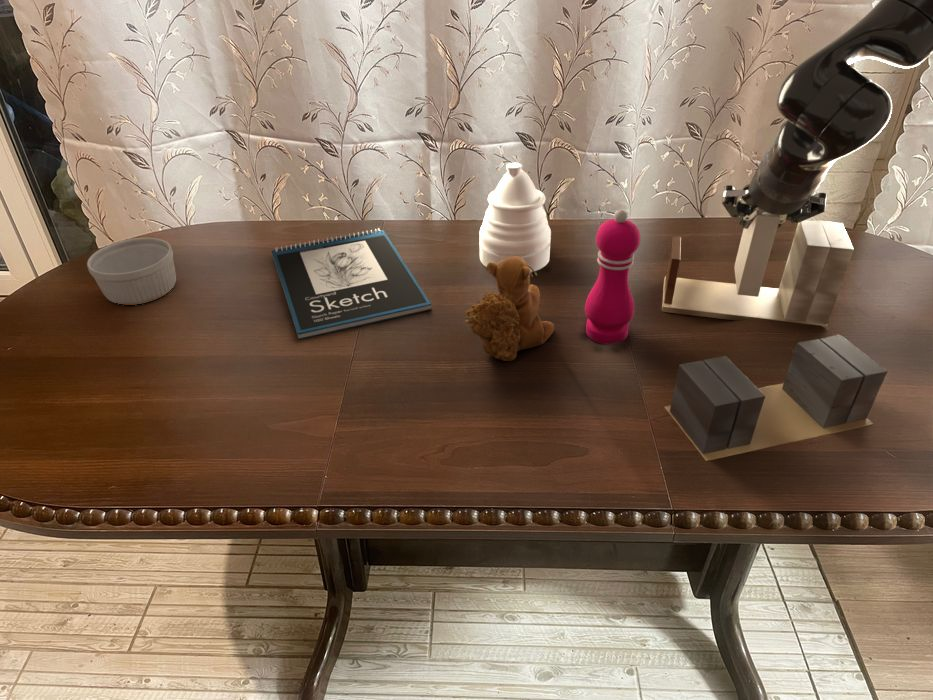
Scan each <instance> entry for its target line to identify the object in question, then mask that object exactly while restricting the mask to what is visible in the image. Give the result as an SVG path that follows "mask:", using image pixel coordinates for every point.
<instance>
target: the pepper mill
mask: <svg viewBox="0 0 933 700" xmlns="http://www.w3.org/2000/svg"><path fill="white" fill-rule="evenodd" d="M640 243H641V232H640V229H639V227H638V226H637V225H636V224H635V223H634V222H633V221H631V220H629V219H628V212H627V211H625V210H624V209H618V210H617V211H615V212H614V215H613V218H611V219H608V220H606V221H604V222H602V224H601V225H600V226H599V228H598V229H597V232H596V236H595V244H596V247H597V248H598V250H599V251H597V256H598V257H597V263H598V265H599V272H598V276H597V279H596V281H595V283H594V285H593V287H592V288H591V290H590V292H588V295H587V298H586V300H585V303H584V304H585V305H584V313H585V315H586V317H587V320H586V325H585V334H586V336H587V337H588V338H589V339H590V340H592V341H593V342H595V343H598V344H602V345H609V344H614V343H619V342H624V341H625V340H626V339H627V337H628V334H629V329H630V328H629V327H630V325H629V323H630V322H631V320H632V319H633V318H634V315H635V300H634V296H633V294H632V291H631V288H630V285H629V273H630V268H632V267H633V265H634V259H635V254H634V253H635V252H636V251H637V250H638V249H639V247H640Z"/></svg>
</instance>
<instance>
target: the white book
mask: <svg viewBox="0 0 933 700" xmlns="http://www.w3.org/2000/svg"><path fill="white" fill-rule="evenodd" d="M779 220H780V217H777V215H774V214H770V213H767V212H765V213H764V212H763V213H762V214H761V215H757V217H756V218H755V217H754V218H753V219H752V222H751V223H750V225H749V227H748V228H747V229H746V228H742V232H741V233H742V234H741V237H740V242H739V246H738V250H737V253H736V258H735V261H734V265H733V267H734V269H733V270H734V277H735V284H736V287H737V294H738V295H746V296H755V297H758V296H759V292H760V288H761V287H762V284H763V281H764V277H765V274H766V270H767V266H768V264H769V263H768V262H769V259H770V255H771V252H772V248H773V246H774V243H775V242H774V241H775V238H776V235H777V230H778V228H777V227H778V224H779Z"/></svg>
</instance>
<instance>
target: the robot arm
mask: <svg viewBox="0 0 933 700" xmlns="http://www.w3.org/2000/svg"><path fill="white" fill-rule="evenodd" d="M932 53H933V0H880V1H879V2H878V3H877V4H876V5H875V6H874V7H873V8H872V9H871V10H870V11H868V13H867V14H866V15H864V17H862V18H861V19H860V20H859V21H857V22H856V24H854V25H853V26H851V27H850V28H849V29H848V30H846V31H845V32H844V33H842V34H841V35H840V36H838V37H837V38H836V39H834V40H832V42H830V43H828V44H827V45H825V46H824V47H822V48H821V49H819V50H818V51H816V52H815V53H814V54H812V55H810V56H808V58H806V59H805V60H803V61H802V62H801V63H800V64H798V65H797V66H796V67H794V69H792V70H791V71H790V73H789V74H787V76H786V77H785V78H784V80H783V81H782V83H781V84H780V86H779V89H778V92H777V96H776V102H775V104H776V108H777V109H776V110H777V111H778V112H779V114H780V115H781V116H782V117H784V119H786V120H785V122H784V123H783V124H782V126H781V127H780V128H779V130H778V132H777V134H776V136H775V138H774V140H773V142H772V144H771V145H770V147H769V148H768V149H767V150H766V152H765V153H764V155H763V156H762V159H761V160H760V162H759V164H758V166H757V169H756V170H755V172H754V174H753V176H752V178H751V179H750V182H749V183H748V184H746V185H744V187H743V188H742V189H738V188H735V187H734V186H733V185H724V187H723V193H722V201H721V204H722V205H723V207H724V209H725V210H726V211H727V213H728V214H729V216H730V217H731V218H734V219H739V223H738V224H739V226H742V229H744V228H746V229H747V228H748V227H749V225H750V223H751V222H752V219H753V218H754V217H755V218H756V217H757V215H761V214H762V213H763V212H764V213H765V212H767V213H770V214H774V215H777V217H780V220H779V224H778V227H777V229H779V228H781V226H782V225H783V224H785V223H786V221H790V223H792V224H798V223H799V222H802V221H804V220H810V219H811V218H813V217H816V216H818V215H821V214H823V213H825V211H826V202H827V193H825V192H818V193H816V194H814V193H815V191H817V189H818V188H819V187H820V186H821V185H822V184H823V182H824V180H825V177H826V175H827V172H828V171H829V169H830V168H831V167H832V166H833V164H834V163H835V162H836V161H837V160H839V159H841V158H843V157H846V156H848V155H850V154H852V153H854V152H856V151H857V150H859V149H861V148H862V147H864V146H866V145H867V144H869V142H871V141H872V140H874V139H875V138H876V137H877V136H878V135H879V134H880V133H881V132H882V130H883V129H884V128H885V127H886V125H887V124H888V122H889V120H890V118H891V114H892V111H893V110H892V109H893V103H892V99H891V96H890V94H889V93H888V92H887V90H885V89H884V88H883V87H882V86H880V85H879V84H878V83H877V82H875V81H874V80H872V79H871V78H869V77H868V76H867V75H865V74H863V73H862V72H861V71H859V70H858V69H857V68H855V67H853V66H852V65H851V64H853V63H855V62H857V61H861V60H865V59H871V60H877V61H880V62H883V63H886V64H888V65H891V66H894V67H898V68H902V69H910V68H914V67H917V66H919V65H921V63H923V62H924V61H925V60H926V59H927V58H929V56H930V55H932ZM813 194H814V195H813ZM744 202H745V203H744Z"/></svg>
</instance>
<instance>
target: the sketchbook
mask: <svg viewBox="0 0 933 700" xmlns="http://www.w3.org/2000/svg"><path fill="white" fill-rule="evenodd" d="M303 243H304V244H302V242H299V245H297V243H294V246H293V244H289V245H290V246H289V247H288V245H287V244H286V245H285V247H283V245H281V246H280V248H279V247H278V246H274V249H273V250H272V249H271V255H272V258H273V261H274V265H275V268H276V272H277V274H278V278H279V281H280V284H281V286H282V290H283V293H284V296H285V300H286V303H287V306H288V309H289V313H290V316H291V319H292V322H293V325H294V329H295V331H296V335H297V338H298V340H302V339H306V338H313V337H316V336H320V335H324V334H330V333H333V332H339V331H343V330H347V329H352V328H357V327H361V326H366V325H369V324H374V323H378V322H379V323H380V322H383V321H386V320H387V321H388V320H391V319H396V318H400V317H404V316H405V317H406V316H410V315H413V314H419V313H423V312H428V311H432V309H433V308H432V303H431V301H430V299H429V298H428V297H427V295H426V293H425V292H424V290H423V289H422V287H421V286H420V284H419V282H418V281H417V280H416V278H415V277H414V275H413V273H412V272H411V270H410V269H409V267H408V265H407V264H406V262H405V261H404V260H403V258H402V257H401V255H400V253H399V252H398V250H397V249H396V247H395V246H394V244H393V243H392V241H391V239H390V238H389V236H388V235H387V233H386V231H385V230H384V229H380V227H378V228H377V229H376V228H374V231H373V230H372V229H370V232H369V231H368V230H366V232H364V231H362V230H361V233H360V232H359V231H357V234H355V232H353V235H351V233H348V236H347V235H346V234H344V236H343V237H342V234H341V235H339V237H338V235H335V238H334V237H333V236H331V237H330V239H329V237H326V240H325V239H324V238H322V240H320V238H319V239H317V242H316V241H315V239H313V240H312V242H311V240H308V243H306V241H303Z"/></svg>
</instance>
